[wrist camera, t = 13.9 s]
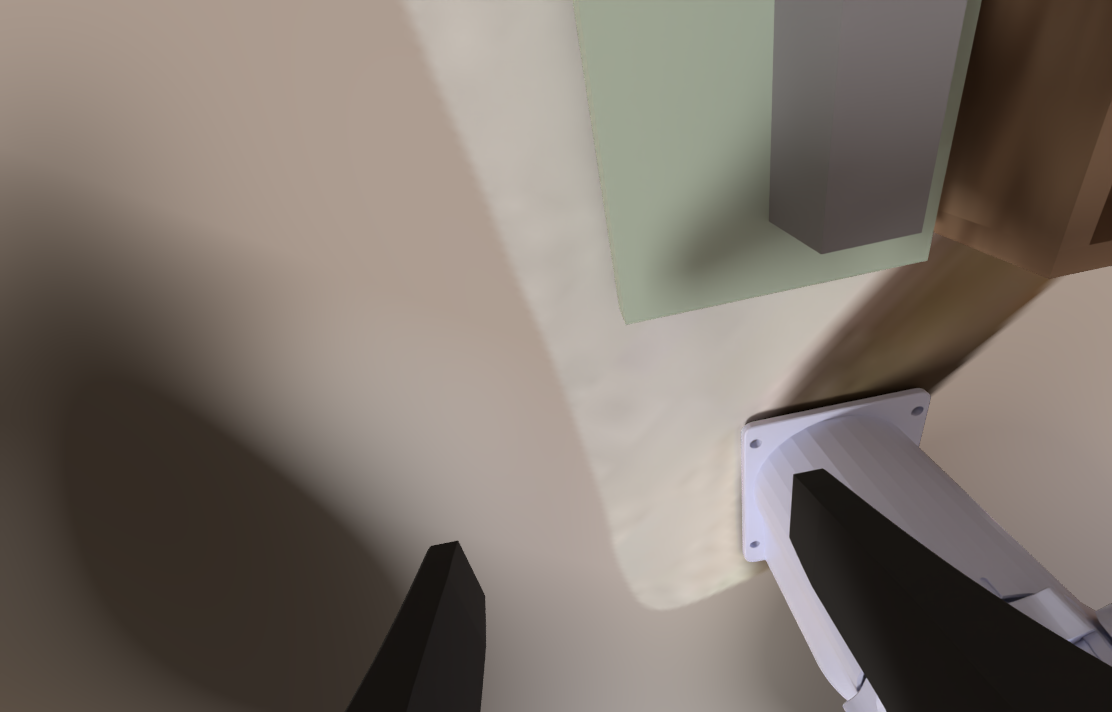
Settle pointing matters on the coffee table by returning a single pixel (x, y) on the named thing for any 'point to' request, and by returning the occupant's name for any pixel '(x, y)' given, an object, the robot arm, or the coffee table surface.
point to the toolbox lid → (768, 140)
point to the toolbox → (1035, 138)
